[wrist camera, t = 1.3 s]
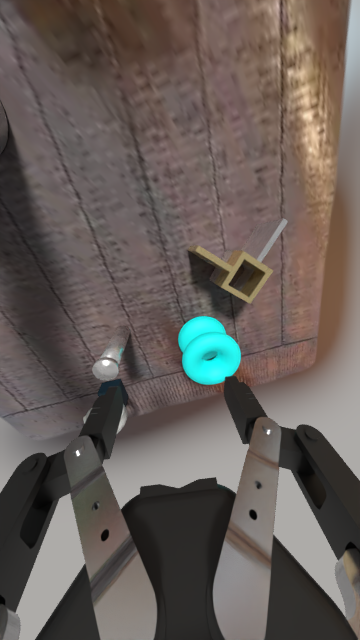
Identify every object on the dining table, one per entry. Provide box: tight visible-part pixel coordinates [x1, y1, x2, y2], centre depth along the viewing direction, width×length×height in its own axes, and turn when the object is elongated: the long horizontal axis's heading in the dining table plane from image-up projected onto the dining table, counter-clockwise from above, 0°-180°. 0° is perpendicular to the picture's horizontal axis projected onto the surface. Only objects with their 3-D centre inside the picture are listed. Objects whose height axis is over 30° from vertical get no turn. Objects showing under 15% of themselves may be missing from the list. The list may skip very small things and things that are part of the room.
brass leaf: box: [188, 246, 273, 303], centre depth 28 cm, size 12×6×7 cm, turn 61°
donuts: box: [178, 316, 241, 385], centre depth 32 cm, size 10×10×10 cm
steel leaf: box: [209, 218, 288, 292], centre depth 28 cm, size 6×12×7 cm, turn 151°
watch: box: [83, 379, 128, 433], centre depth 35 cm, size 6×8×11 cm
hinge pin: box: [92, 326, 130, 381], centre depth 29 cm, size 3×3×12 cm
